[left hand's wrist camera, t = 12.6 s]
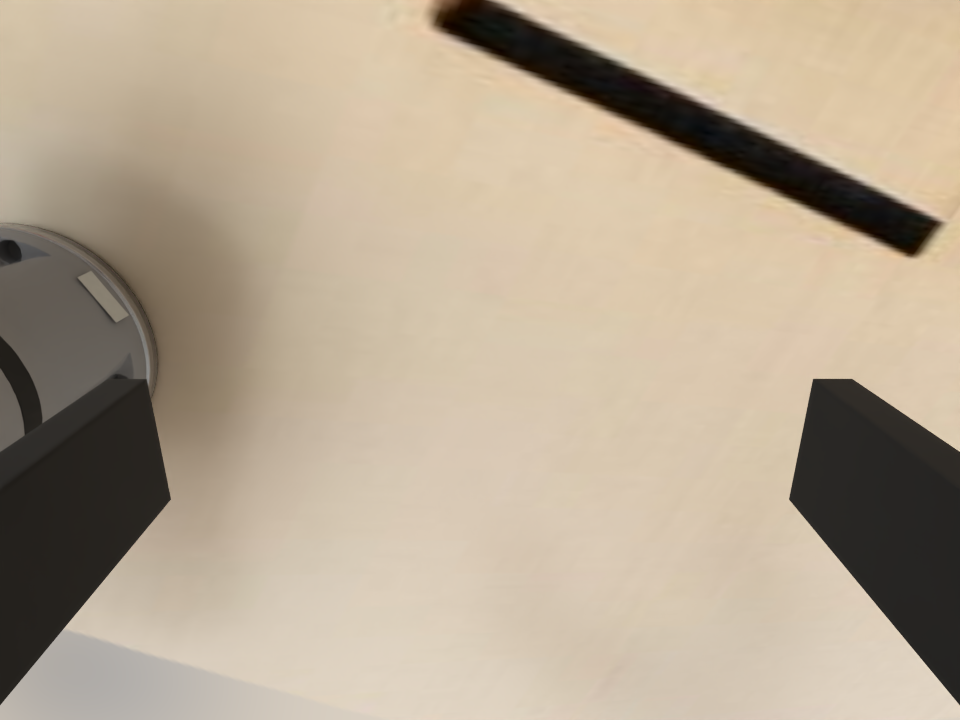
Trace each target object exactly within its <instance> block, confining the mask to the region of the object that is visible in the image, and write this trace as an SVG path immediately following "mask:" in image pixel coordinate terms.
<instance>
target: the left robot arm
mask: <svg viewBox="0 0 960 720" xmlns="http://www.w3.org/2000/svg"><path fill="white" fill-rule="evenodd" d="M157 366H158V362H157V350H156V344H155V340H154V336H153V332H152V329H151V326H150V324H149V321H148V319H147V316H146V314H145V312H144V310H143V308H142V307H141V305H140V303H139V301H138V300H137V298H136V297H135V295H134V294H133V292H132V291H131V290H130V288H129V287H128V286H127V284H126V283H125V282H124V281H123V280H122V279H121V277H120V276H119V275H118V274H117V273H116V272H115V271H114V270H113V269H112V268H111V267H110V266H108V265H107V264H106V263H105V262H104V261H103V260H101V259H100V258H99V257H98V256H96V255H95V254H93V253H92V252H91V251H89V250H88V249H86V248H84V247H83V246H81V245H79V244H78V243H76V242H74V241H72V240H70V239H68V238H66V237H64V236H61V235H59V234H56V233H54V232H51V231H48V230H45V229H41V228H38V227H33V226H28V225H21V224H10V223H0V705H1V703H2V702H3V701H4V700H5V699H6V697H7V696H8V695H9V694H10V692H11V691H12V690H13V689H14V688H15V687H16V685H17V684H18V683H19V682H20V680H21V679H22V678H23V677H24V676H25V675H26V673H27V672H28V671H29V670H30V668H31V667H32V666H33V665H34V664H35V662H36V661H37V660H38V659H39V658H40V656H41V655H42V654H43V653H44V652H45V650H46V649H47V648H48V647H49V646H50V644H51V643H52V642H53V641H54V640H55V638H56V637H57V636H58V635H59V634H60V632H61V631H62V630H63V629H64V628H65V626H66V625H67V624H68V623H69V621H70V620H71V619H72V618H73V617H74V615H75V614H76V613H77V612H78V611H79V609H80V608H81V607H82V606H83V605H84V603H85V602H86V601H87V600H88V599H89V597H90V596H91V595H92V594H93V593H94V591H95V590H96V589H97V588H98V587H99V585H100V584H101V583H102V582H103V581H104V579H105V578H106V577H107V576H108V574H109V573H110V572H111V571H112V570H113V568H114V567H115V566H116V565H117V564H118V562H119V561H120V560H121V559H122V558H123V556H124V555H125V554H126V553H127V552H128V550H129V549H130V548H131V547H132V546H133V544H134V543H135V542H136V541H137V540H138V538H139V537H140V536H141V535H142V534H143V532H144V531H145V530H146V529H147V527H148V526H149V525H150V524H151V523H152V521H153V520H154V519H155V518H156V517H157V515H158V514H159V513H160V512H161V511H162V509H163V508H164V507H165V506H166V505H167V503H168V502H169V501H170V500H171V498H170V493H169V488H168V483H167V478H166V473H165V468H164V463H163V458H162V453H161V448H160V443H159V438H158V433H157V428H156V423H155V418H154V413H153V408H152V403H151V397H152V395H153V392H154V388H155V384H156V378H157ZM789 500H790V501H791V502H792V503H793V505H794V506H795V507H796V508H797V509H798V511H799V512H800V513H801V514H802V515H803V517H804V518H805V519H806V520H807V521H808V523H809V524H810V525H811V526H812V527H813V529H814V530H815V531H816V532H817V534H818V535H819V536H820V537H821V538H822V540H823V541H824V542H825V543H826V544H827V546H828V547H829V548H830V549H831V550H832V552H833V553H834V554H835V555H836V556H837V558H838V559H839V560H840V561H841V562H842V564H843V565H844V566H845V567H846V568H847V570H848V571H849V572H850V573H851V574H852V576H853V577H854V578H855V579H856V581H857V582H858V583H859V584H860V585H861V587H862V588H863V589H864V590H865V591H866V593H867V594H868V595H869V596H870V597H871V599H872V600H873V601H874V602H875V603H876V605H877V606H878V607H879V608H880V609H881V611H882V612H883V613H884V614H885V615H886V617H887V618H888V619H889V620H890V621H891V623H892V624H893V625H894V626H895V628H896V629H897V630H898V631H899V632H900V634H901V635H902V636H903V637H904V638H905V640H906V641H907V642H908V643H909V644H910V646H911V647H912V648H913V649H914V650H915V652H916V653H917V654H918V655H919V656H920V658H921V659H922V660H923V661H924V662H925V664H926V665H927V666H928V667H929V668H930V670H931V671H932V672H933V673H934V675H935V676H936V677H937V678H938V679H939V681H940V682H941V683H942V684H943V685H944V687H945V688H946V689H947V690H948V691H949V693H950V694H951V695H952V696H953V697H954V699H955V700H956V701H957V702H958V703H959V705H960V452H959V451H958V450H956V449H955V448H953V447H952V446H950V445H949V444H947V443H946V442H944V441H943V440H941V439H940V438H938V437H937V436H935V435H934V434H932V433H931V432H930V431H928V430H927V429H925V428H924V427H922V426H921V425H919V424H918V423H916V422H915V421H913V420H912V419H910V418H909V417H907V416H906V415H904V414H903V413H902V412H900V411H899V410H897V409H896V408H894V407H893V406H891V405H890V404H888V403H887V402H885V401H884V400H882V399H881V398H879V397H878V396H876V395H875V394H873V393H872V392H871V391H869V390H868V389H866V388H865V387H863V386H862V385H860V384H859V383H857V382H856V381H854V380H853V379H813V383H812V388H811V393H810V398H809V403H808V408H807V413H806V418H805V423H804V428H803V433H802V438H801V443H800V448H799V453H798V458H797V463H796V468H795V473H794V478H793V483H792V488H791V493H790V498H789Z"/></svg>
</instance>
